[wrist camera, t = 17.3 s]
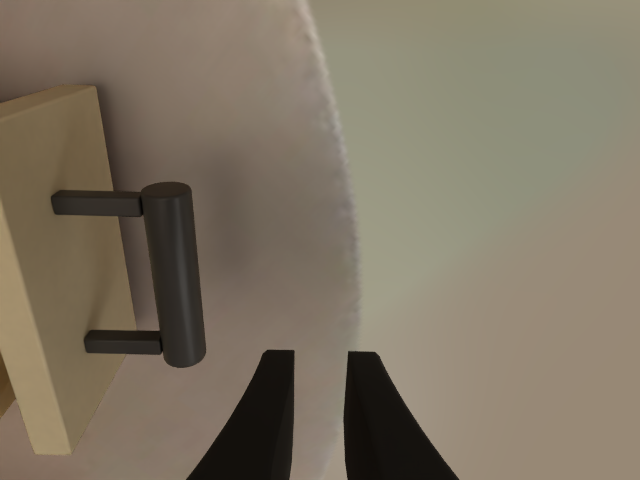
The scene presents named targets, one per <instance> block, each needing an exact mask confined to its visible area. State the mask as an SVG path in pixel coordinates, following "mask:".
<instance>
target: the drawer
mask: <svg viewBox="0 0 640 480" xmlns="http://www.w3.org/2000/svg"><path fill="white" fill-rule="evenodd" d="M142 215H144V222H145V229H146V236H147V243H148V250H149V257H150V264H151V271H152V278H153V286H154V293H155V300H156V307H157V314H158V321H159V328H160V331H139V330H137V328H136V322H135V316H134V310H133V304H132V298H131V292H130V286H129V280H128V274H127V268H126V262H125V256H124V250H123V244H122V238H121V232H120V227H119V221H118V216H122V217H141V216H142ZM162 351H163V356H164V360H165V361H166V363H167V364H169V365H170V366H173V367H177V368H185V367H190V366H193V365H195V364H197V363H199V362H200V361H201V360H202V359H203V358H204V356H205V354H206V342H205V331H204V321H203V310H202V299H201V288H200V277H199V266H198V255H197V245H196V234H195V223H194V212H193V201H192V190H191V188H190V186H188V185H187V184H184V183H179V182H160V183H155V184H151V185H148V186H146V187H144V188H143V189H142V190H141V192H126V191H113V185H112V179H111V173H110V167H109V161H108V155H107V149H106V143H105V137H104V131H103V125H102V119H101V114H100V108H99V102H98V96H97V90H96V87H95V86H93V85H65V84H62V85H59V86H56V87H53V88H49V89H46V90H43V91H39V92H36V93H33V94H29V95H26V96H23V97H20V98H16V99H13V100H10V101H6V102H3V103H0V418H1V417H2V416H3V414H4V413H5V412H6V411H7V409H8V408H9V407H10V405H11V404H12V403H13V401H14V400H15V399H16V400H17V403H18V406H19V409H20V412H21V415H22V418H23V421H24V424H25V427H26V430H27V433H28V436H29V439H30V442H31V445H32V449H33V452H34V454H36V455H71V454H72V453H73V451H74V449H75V447H76V445H77V444H78V442H79V440H80V438H81V436H82V434H83V433H84V431H85V429H86V427H87V425H88V423H89V422H90V420H91V418H92V416H93V414H94V413H95V411H96V409H97V407H98V405H99V403H100V402H101V400H102V398H103V396H104V394H105V392H106V391H107V389H108V387H109V385H110V383H111V381H112V380H113V378H114V376H115V374H116V372H117V370H118V369H119V367H120V365H121V363H122V361H123V359H124V358H125V356H126V354H148V355H160V354H162Z"/></svg>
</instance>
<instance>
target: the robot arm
mask: <svg viewBox="0 0 640 480" xmlns="http://www.w3.org/2000/svg"><path fill="white" fill-rule="evenodd" d="M293 424H294V350H267V351H265V352H264V353H263V354H262V357H261V360H260V362H259V365H258V367H257V369H256V371H255V374H254V376H253V378H252V380H251V382H250V383H249V385H248V387H247V389H246V391H245V393H244V395H243V396H242V398H241V400H240V401H239V403H238V405H237V407H236V408H235V410H234V412H233V413H232V415H231V417H230V418H229V420H228V421H227V423H226V425H225V426H224V428H223V429H222V431H221V432H220V433H219V435H218V436H217V438H216V439H215V441H214V442H213V444H212V445H211V447H210V448H209V450H208V451H207V453H206V454H205V455H204V457H203V458H202V459H201V461H200V462H199V463H198V465H197V466H196V468H195V469H194V470H193V471H192V473H191V474H190V475H189V477H188V478H187V479H186V480H289V478H290V471H291V463H292V446H293ZM344 445H345V464H346V471H347V478H348V480H459V479H458V477H457V476H456V475H455V474H454V472H453V471H452V470H451V468H450V467H449V466H448V465H447V463H446V462H445V461H444V460H443V458H442V457H441V455H440V454H439V453H438V451H437V450H436V449H435V447H434V446H433V445H432V443H431V442H430V440H429V439H428V438H427V436H426V435H425V433H424V432H423V430H422V429H421V427H420V426H419V424H418V423H417V421H416V420H415V418H414V417H413V415H412V414H411V412H410V411H409V409H408V407H407V406H406V404H405V403H404V401H403V399H402V398H401V396H400V394H399V393H398V391H397V389H396V387H395V386H394V384H393V382H392V380H391V379H390V377H389V375H388V373H387V371H386V369H385V367H384V365H383V363H382V361H381V359H380V356H379V355H378V354H377V353H376V352H358V351H348V362H347V376H346V390H345V404H344Z"/></svg>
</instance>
